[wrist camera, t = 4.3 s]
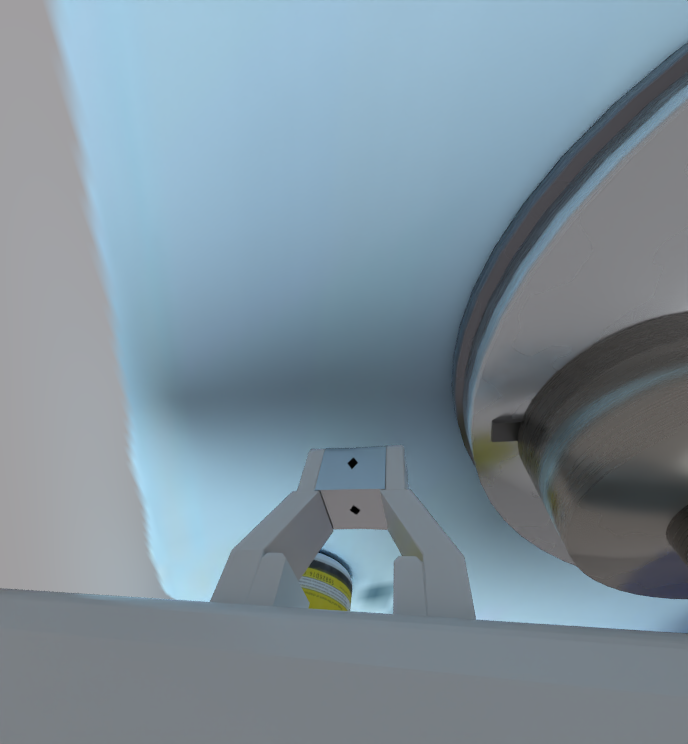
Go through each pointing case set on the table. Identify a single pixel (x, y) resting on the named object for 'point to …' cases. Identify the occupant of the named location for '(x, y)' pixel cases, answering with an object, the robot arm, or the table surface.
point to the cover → (618, 458)
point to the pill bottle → (327, 584)
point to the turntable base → (544, 197)
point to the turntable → (579, 293)
